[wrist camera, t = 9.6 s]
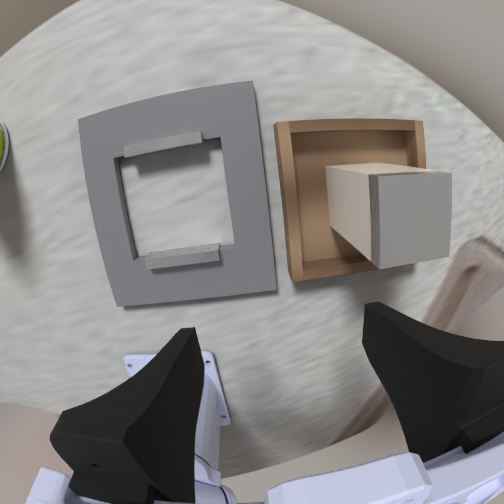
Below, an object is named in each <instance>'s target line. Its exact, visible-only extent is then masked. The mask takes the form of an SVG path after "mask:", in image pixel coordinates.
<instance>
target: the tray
mask: <svg viewBox="0 0 504 504" xmlns="http://www.w3.org/2000/svg"><path fill="white" fill-rule="evenodd" d="M273 127H274V135H275V143H276V152H277V161H278V169H279V178H280V188H281V197H282V207H283V217H284V228H285V238H286V250H287V261H288V271H289V274H290V276H291V279H292V281H293V282H296V281H303V280H310V279H317V278H324V277H331V276H338V275H344V274H351V273H357V272H364V271H370V270H376V269H378V268H377V267H376V266H375V265H374V264H373V263H372V262H371V261H370V260H369V259H367V258H366V257H365V256H364V255H363V254H362V253H361V252H360V251H359V250H357V249H356V248H355V247H354V246H353V245H352V244H351V243H349V242H348V241H347V240H346V239H345V238H344V237H343V236H341V235H340V234H339V233H338V232H337V231H336V230H334V229H333V228H332V227H331V226H330V220H329V206H328V193H327V182H326V171H325V166H335V165H349V164H365V163H386V164H394V165H402V166H409V167H416V168H423V169H426V154H425V140H424V129H423V121H416V120H398V119H319V120H300V121H286V122H277V123H275V124H274V125H273Z"/></svg>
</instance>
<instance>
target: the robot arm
mask: <svg viewBox="0 0 504 504" xmlns="http://www.w3.org/2000/svg"><path fill="white" fill-rule="evenodd" d="M362 344H363V346H364V349H365V352H366V354H367V357H368V359H369V361H370V363H371V365H372V367H373V369H374V370H375V372H376V374H377V376H378V377H379V379H380V381H381V383H382V384H383V386H384V388H385V390H386V391H387V393H388V395H389V397H390V399H391V401H392V403H393V405H394V408H395V410H396V413H397V415H398V418H399V421H400V423H401V426H402V430H403V433H404V435H405V439H406V442H407V446H408V449H409V452H404V453H399V454H394V455H390V456H387V457H384V458H381V459H378V460H374V461H371V462H367V463H364V464H360V465H356V466H352V467H348V468H344V469H340V470H336V471H331V472H326V473H321V474H315V475H310V476H304V477H301V478H296V479H293V480H288V481H284V482H282V483H280V484H278V485H277V486H275V487H273V488H271V489H270V490H268V492H267V494H266V496H265V498H264V502H255V503H237V501H236V498H235V495H234V494H233V492H232V490H231V489H229V488H228V487H226V486H223V485H221V472H219V471H218V467H219V445H220V426H227V425H230V422H231V420H230V416H229V413H228V409H227V406H226V402H225V398H224V395H223V391H222V387H221V383H220V379H219V376H218V372H217V368H216V364H215V360H214V356H213V354H212V353H211V352H209V351H201V349H200V346H199V342H198V338H197V334H196V330H195V327H193V328H181V329H180V330H179V331H178V332H177V333H176V334H175V335H174V336H173V337H172V339H171V340H170V341H169V342H168V343H167V344H166V345H165V346H164V347H163V348H162V349H161V350H160V352H159V353H158V354H146V355H126V356H125V357H124V359H123V362H124V364H125V366H126V369H127V371H128V373H129V375H130V378H129V379H128V380H127V381H125V382H124V383H122V384H121V385H119V386H117V387H116V388H114V389H113V390H111V391H109V392H108V393H106V394H104V395H102V396H100V397H98V398H96V399H94V400H92V401H89V402H87V403H85V404H82V405H79V406H77V407H74V408H71V409H68V410H65V411H63V412H62V414H61V415H60V417H59V419H58V421H57V423H56V425H55V427H54V429H53V431H52V432H51V434H50V441H51V444H52V446H53V448H54V449H55V450H56V452H57V453H58V454H59V455H60V457H61V458H62V459H63V460H64V461H65V462H66V463H67V464H68V465H69V466H70V467H71V468H72V469H73V471H74V473H73V476H72V478H71V477H70V476H68V475H66V474H64V473H61V472H58V471H55V470H51V469H48V468H45V467H41V469H40V471H39V473H38V476H37V478H36V480H35V483H34V485H33V487H32V489H31V492H30V494H29V496H28V499H27V501H26V504H486V503H487V502H488V501H490V500H491V499H493V498H494V497H496V496H497V495H498V494H500V493H501V492H502V491H504V341H488V340H480V339H473V338H468V337H463V336H459V335H455V334H451V333H448V332H445V331H442V330H439V329H436V328H433V327H431V326H428V325H426V324H424V323H421V322H419V321H417V320H415V319H413V318H410V317H408V316H406V315H404V314H402V313H400V312H398V311H396V310H394V309H393V308H391V307H388V306H386V305H384V304H382V303H380V302H374V303H368V304H365V311H364V325H363V338H362ZM206 361H210V363H208V362H206ZM129 364H131V365H132V366H131V365H129ZM223 415H224V416H223Z"/></svg>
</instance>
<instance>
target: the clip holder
mask: <svg viewBox="0 0 504 504" xmlns="http://www.w3.org/2000/svg"><path fill="white" fill-rule="evenodd" d="M78 123H79V133H80V142H81V150H82V158H83V165H84V171H85V178H86V184H87V189H88V195H89V200H90V205H91V210H92V215H93V220H94V224H95V229H96V233H97V237H98V241H99V245H100V249H101V253H102V257H103V261H104V264H105V268H106V272H107V275H108V279H109V282H110V285H111V289H112V292H113V295H114V298H115V301H116V304H117V306H130V305H142V304H153V303H164V302H175V301H185V300H195V299H204V298H213V297H222V296H231V295H239V294H248V293H256V292H264V291H271V290H277V287H276V276H275V267H274V257H273V247H272V238H271V228H270V219H269V210H268V201H267V192H266V183H265V175H264V166H263V158H262V150H261V141H260V133H259V125H258V118H257V110H256V102H255V95H254V87H253V81H246V82H237V83H229V84H222V85H215V86H209V87H202V88H197V89H191V90H186V91H180V92H175V93H171V94H166V95H161V96H157V97H153V98H149V99H145V100H141V101H137V102H133V103H129V104H126V105H122V106H119V107H115V108H112V109H108V110H105V111H102V112H99V113H96V114H93V115H90V116H87V117H84V118H81V119H78ZM215 138H221V145H222V153H223V160H224V168H225V175H226V183H227V190H228V197H229V205H230V212H231V219H232V226H233V233H234V240H235V244H233V245H225V246H220V244H211V245H203V246H196V247H188V248H181V249H173V250H166V251H158V252H151V253H150V254H149V255H148V256H142V257H137V255H136V251H135V246H134V242H133V238H132V233H131V228H130V224H129V219H128V214H127V209H126V204H125V198H124V193H123V187H122V181H121V175H120V169H119V162H118V158H119V157H123V156H124V157H125V158H127V157H135V156H140V155H144V154H149V153H154V152H158V151H163V150H168V149H174V148H179V147H185V146H190V145H196V144H202V143H205V141H204V140H208V139H215Z"/></svg>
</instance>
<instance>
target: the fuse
mask: <svg viewBox="0 0 504 504" xmlns="http://www.w3.org/2000/svg"><path fill="white" fill-rule="evenodd" d="M325 171H326V182H327V193H328V206H329V220H330V226H331V227H332V228H333V229H334V230H336V231H337V232H338V233H339V234H340V235H341V236H343V237H344V238H345V239H346V240H347V241H348V242H349V243H351V244H352V245H353V246H354V247H355V248H356V249H357V250H359V251H360V252H361V253H362V254H363V255H364V256H365V257H366V258H367V259H369V260H370V261H371V262H372V263H373V264H374V265H375V266H376V267H377V268H378V269H385V268H391V267H396V266H402V265H407V264H413V263H418V262H423V261H428V260H434V259H439V258H444V257H449V248H450V234H451V212H452V175H451V173H447V172H441V171H435V170H429V169H423V168H416V167H409V166H402V165H394V164H386V163H365V164H349V165H335V166H325Z"/></svg>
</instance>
